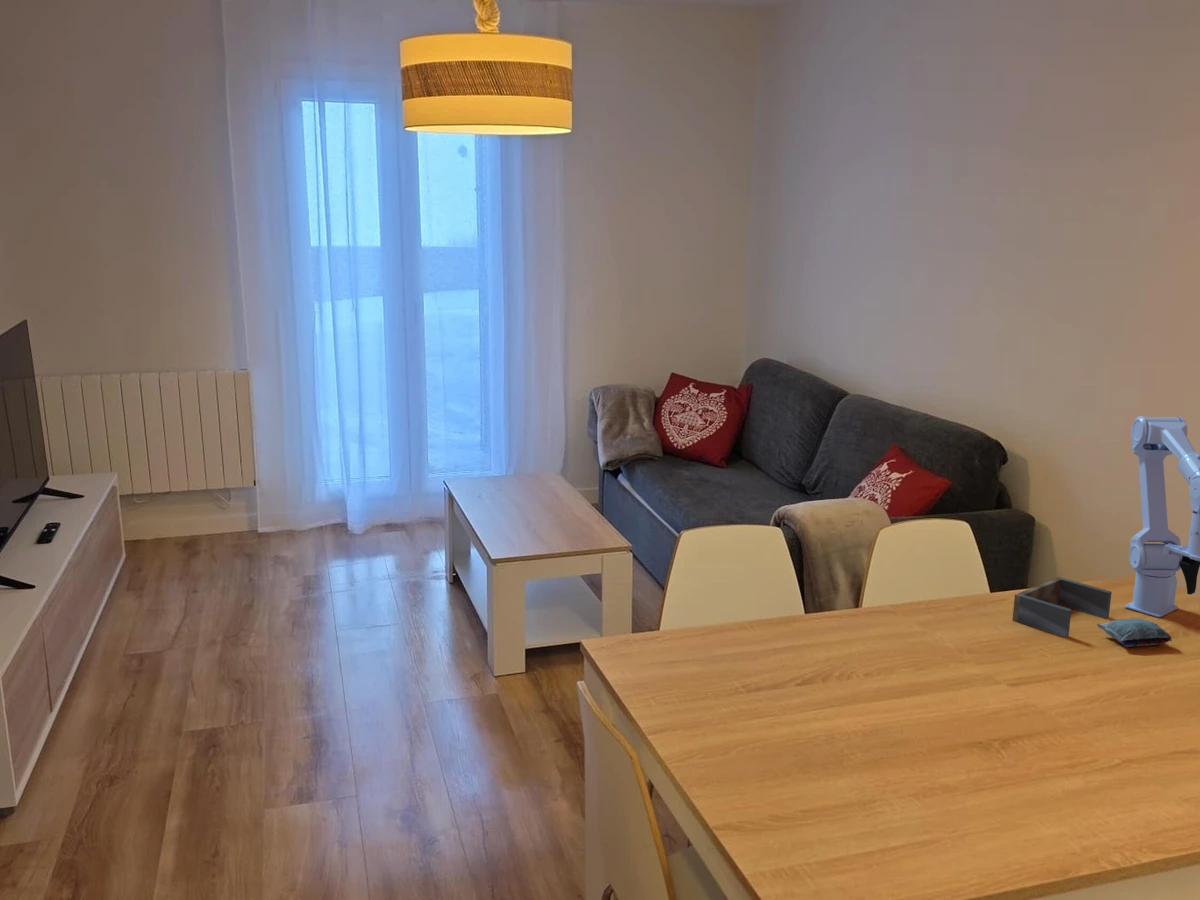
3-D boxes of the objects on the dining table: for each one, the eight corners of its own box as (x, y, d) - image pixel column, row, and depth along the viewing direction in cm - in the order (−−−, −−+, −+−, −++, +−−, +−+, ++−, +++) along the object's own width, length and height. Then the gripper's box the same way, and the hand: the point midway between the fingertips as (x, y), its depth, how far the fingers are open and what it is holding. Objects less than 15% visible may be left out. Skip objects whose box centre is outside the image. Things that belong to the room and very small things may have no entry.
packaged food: (1095, 635, 223) (1098, 613, 222) (1146, 632, 225) (1149, 611, 224) (1120, 652, 215) (1123, 630, 214) (1173, 649, 216) (1176, 627, 215)
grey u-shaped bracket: (1056, 601, 242) (1059, 576, 241) (1108, 617, 233) (1111, 591, 232) (1012, 620, 231) (1014, 594, 230) (1065, 637, 222) (1068, 611, 220)
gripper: (1160, 527, 218) (1152, 589, 221) (1235, 544, 206) (1226, 609, 209) (1175, 521, 222) (1167, 582, 225) (1250, 538, 211) (1241, 601, 214)
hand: (1197, 594), depth 217 cm, fingers closed
